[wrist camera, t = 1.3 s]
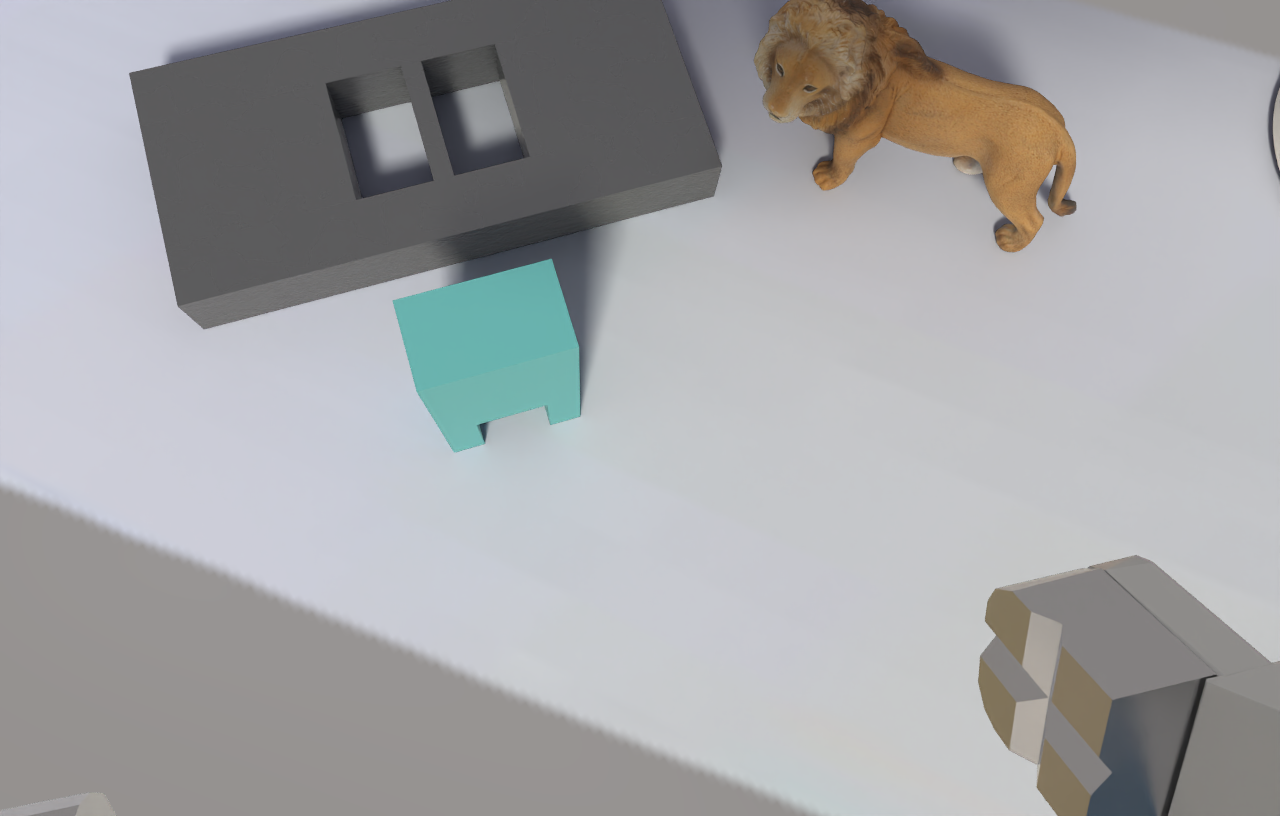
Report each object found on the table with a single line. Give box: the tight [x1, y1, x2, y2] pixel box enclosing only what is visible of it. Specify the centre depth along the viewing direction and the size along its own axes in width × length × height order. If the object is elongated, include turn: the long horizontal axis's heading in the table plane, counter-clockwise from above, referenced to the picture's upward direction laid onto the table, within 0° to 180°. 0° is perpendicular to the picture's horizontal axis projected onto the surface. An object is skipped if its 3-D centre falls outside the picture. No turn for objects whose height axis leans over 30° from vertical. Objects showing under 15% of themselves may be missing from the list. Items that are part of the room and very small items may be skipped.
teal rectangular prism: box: [393, 259, 580, 452], centre depth 33 cm, size 5×3×8 cm, turn 107°
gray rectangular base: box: [129, 0, 722, 329], centre depth 39 cm, size 21×10×2 cm, turn 107°
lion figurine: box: [754, 0, 1076, 252], centre depth 37 cm, size 15×5×9 cm, turn 79°
